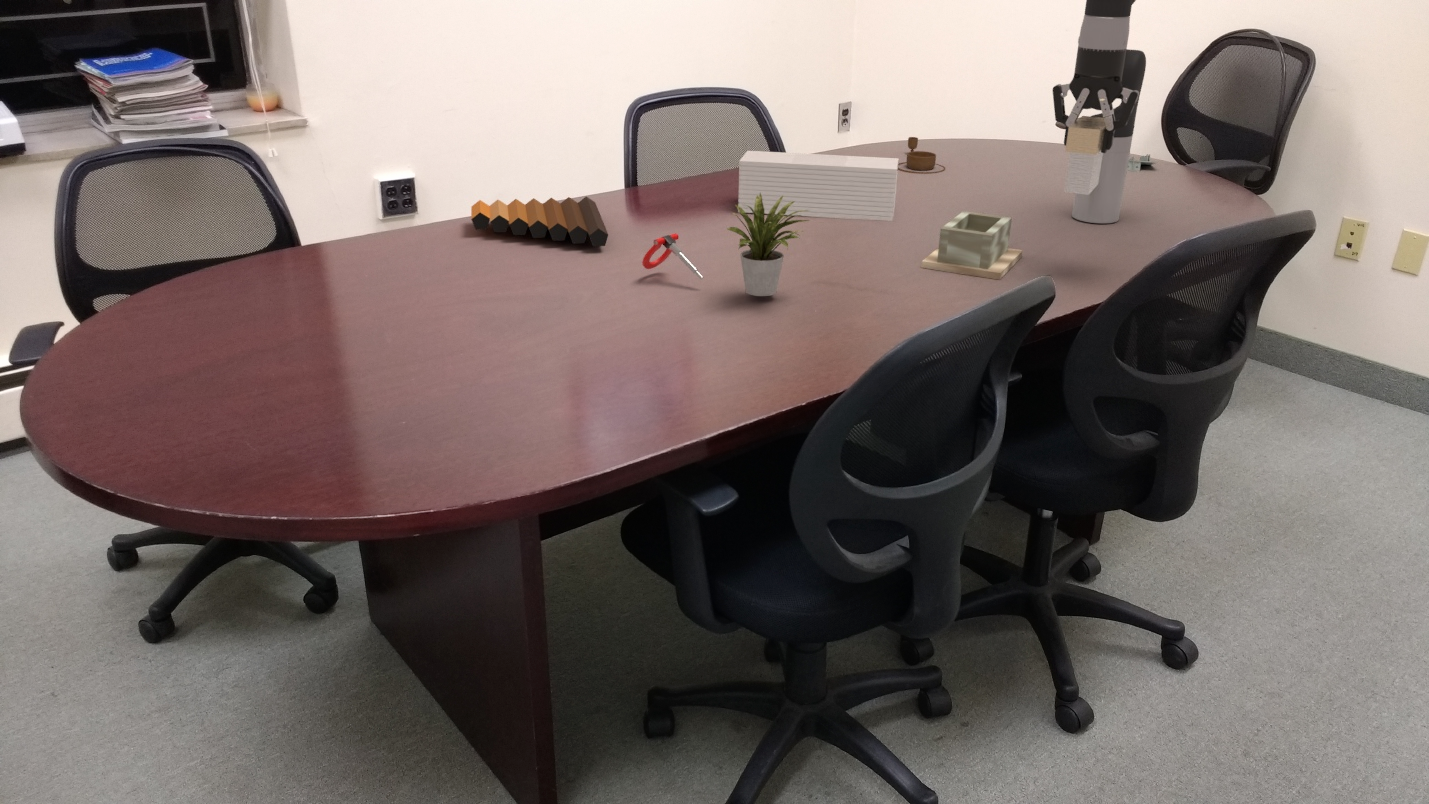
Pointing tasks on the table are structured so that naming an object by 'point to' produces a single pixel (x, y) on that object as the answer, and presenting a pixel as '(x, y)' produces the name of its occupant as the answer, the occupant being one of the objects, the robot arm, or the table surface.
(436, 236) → the table surface
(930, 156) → the place setting
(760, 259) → the house plant
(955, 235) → the grey open box
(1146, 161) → the metal bracket
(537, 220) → the pan flute
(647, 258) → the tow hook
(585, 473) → the table surface
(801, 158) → the stack of papers
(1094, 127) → the two-tone square post
